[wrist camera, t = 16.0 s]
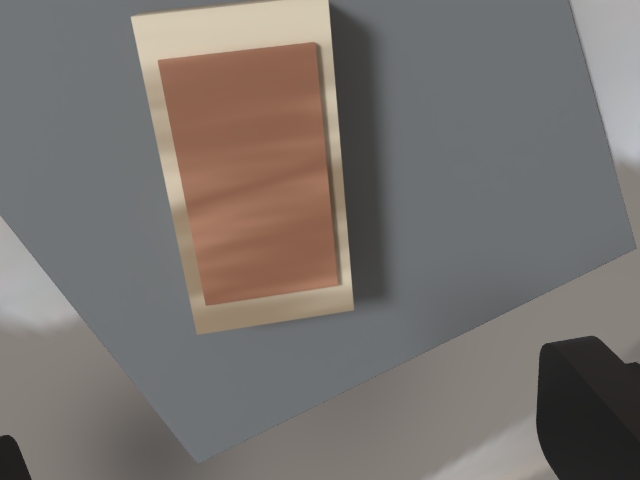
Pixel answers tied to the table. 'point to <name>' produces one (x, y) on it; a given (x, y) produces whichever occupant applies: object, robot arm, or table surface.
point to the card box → (250, 157)
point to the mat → (359, 189)
